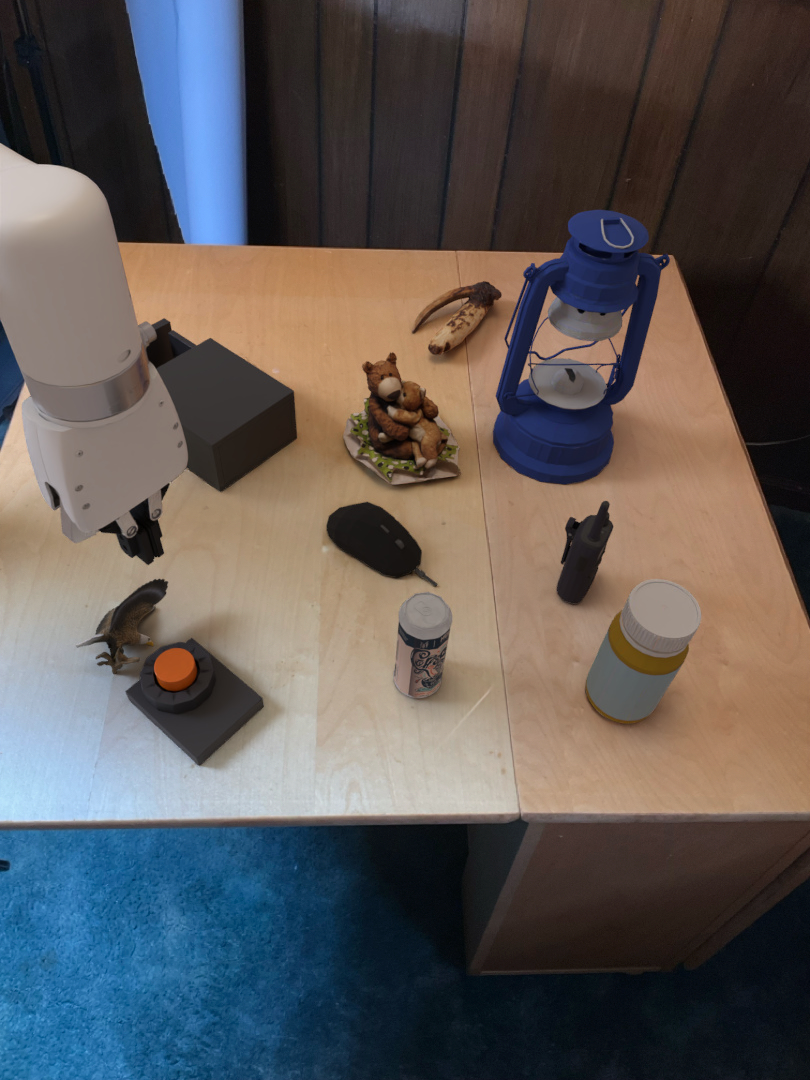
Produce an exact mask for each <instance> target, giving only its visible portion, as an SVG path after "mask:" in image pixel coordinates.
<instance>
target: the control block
mask: <svg viewBox="0 0 810 1080" xmlns="http://www.w3.org/2000/svg"><path fill="white" fill-rule="evenodd" d="M173 648H181V649H185V650H187V651H189V652H190V653H191V654H192V656H193V657H194V661H195V664H196V668H197V676H196V678H195V680H194V682H193V683H192V684H191V685H190V686H189V687H187V688H185V689H183V690H180V691H169V690H166V689H164V688H163V687H162V686H161V685H160V684H159V682H158V680H157V677H156V674H155V671H154V664H155V661H156V659H157V658H158V657H159V656H160V655H161V654H162V653H163V652H165V651H167V650H169V649H173ZM125 695H126V697H127V699H128V701H129V702H130V703H131V704H132V705H133V706H134V707H135V708H136V709H137V710H138V711H139V712H141V713H142V714H143V715H144V717H146V718H147V719H148V720H149V721H150V722H151V723H152V724H154V725H155V727H157V728H158V729H159V730H160V731H161V732H162V733H163V734H164V735H165V736H166V737H168V738H169V739H170V740H171V741H172V742H173V743H174V744H175V745H176V746H177V747H178V748H179V749H180V750H181V751H182V752H184V754H185V755H187V756H188V758H190V759H191V760H192V761H193V762H194V763H195V764H196V765H197V766H198V767H199V766H201V765H202V764H204V763H205V761H207V760H208V759H209V758H210V757H211V756H212V755H213V754H215V752H217V750H219V749H220V748H221V747H222V746H223V745H224V744H225V743H226V742H227V741H229V740H230V739H231V737H233V736H234V735H235V734H236V733H238V731H239V730H241V728H242V727H244V725H246V724H247V723H248V722H249V721H250V720H251V719H252V718H254V716H255V715H256V714H257V713H259V712H260V711H261V710H262V709H263V708H264V706H265V703H264V698H263V697H262V696H261V695H260V694H259V693H258V692H256V691H255V690H254V689H253V688H251V687H250V686H249V685H248V684H247V683H246V682H245V681H243V679H241V678H240V677H239V676H238V675H237V674H235V673H234V672H233V671H232V670H230V669H229V668H228V667H227V666H226V665H225V664H224V663H223V662H221V661H220V660H219V659H218V658H217V657H216V656H214V655H213V654H212V653H211V652H209V651H208V650H207V649H206V648H205V647H204V646H202V645H201V644H200V643H199V642H198V641H197V640H196V639H194V638H193V637H191V638H189V639H188V640H187V641H185V642H184V641H178V642H174V643H173V642H172V643H170V644H165V645H162V646H160V647H159V648H157V649H156V650H155V651H154V652H152V653H151V654H150V655H149V656H148V657H147V658H145V661H144V663H143V665H142V668H141V670H140V673H139V680H137V681H136V682H135V683H133V684H132V685H131V686H130V687H129V688H127V689H126V690H125Z"/></svg>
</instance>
